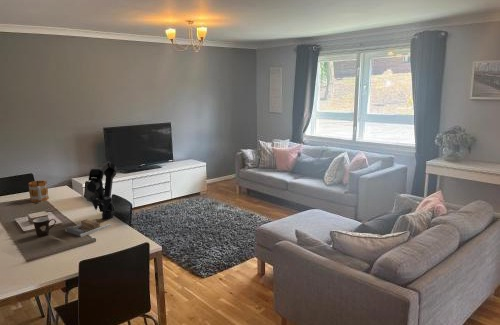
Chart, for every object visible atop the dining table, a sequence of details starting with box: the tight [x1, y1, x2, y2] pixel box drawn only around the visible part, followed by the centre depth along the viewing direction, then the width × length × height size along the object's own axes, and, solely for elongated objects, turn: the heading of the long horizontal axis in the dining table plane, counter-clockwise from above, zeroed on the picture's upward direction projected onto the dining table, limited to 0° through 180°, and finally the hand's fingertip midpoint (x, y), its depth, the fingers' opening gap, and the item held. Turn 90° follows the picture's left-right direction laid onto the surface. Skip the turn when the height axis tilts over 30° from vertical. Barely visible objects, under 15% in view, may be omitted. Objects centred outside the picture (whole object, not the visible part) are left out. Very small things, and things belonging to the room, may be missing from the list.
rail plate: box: [65, 219, 112, 238], centre depth 236 cm, size 21×18×4 cm
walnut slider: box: [80, 219, 101, 231], centre depth 237 cm, size 4×14×4 cm, turn 57°
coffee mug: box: [32, 216, 57, 238], centre depth 230 cm, size 12×9×10 cm
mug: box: [27, 179, 50, 203], centre depth 303 cm, size 20×14×15 cm
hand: (100, 210), depth 243 cm, fingers open, 9 cm apart
